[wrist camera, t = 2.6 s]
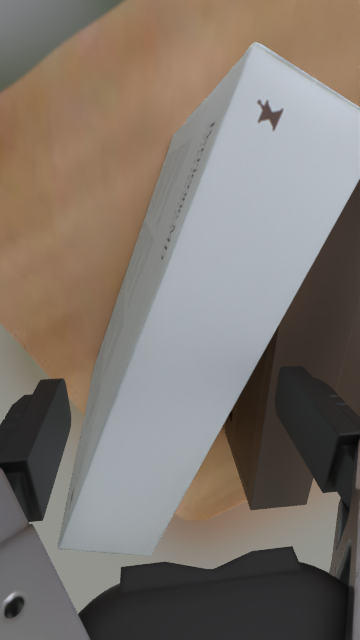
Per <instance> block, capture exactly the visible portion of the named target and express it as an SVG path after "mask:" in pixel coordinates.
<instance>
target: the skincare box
mask: <svg viewBox="0 0 360 640" xmlns="http://www.w3.org/2000/svg"><path fill="white" fill-rule="evenodd" d="M359 179H360V107H358V106H357V105H355V104H353V103H352V102H350V101H349V100H347V99H346V98H344V97H343V96H341V95H340V94H338V93H337V92H335V91H333V90H332V89H330V88H329V87H327V86H326V85H324V84H323V83H321V82H319V81H318V80H316V79H315V78H313V77H312V76H310V75H309V74H307V73H305V72H304V71H302V70H301V69H299V68H298V67H296V66H295V65H293V64H291V63H290V62H288V61H287V60H285V59H284V58H282V57H280V56H279V55H277V54H276V53H274V52H273V51H271V50H270V49H268V48H267V47H265V46H264V45H261V44H259V43H257V42H254V43H253V44H251V45H250V47H249V48H248V50H247V51H246V52H245V54H244V55H243V56H242V58H241V59H240V60H239V61H238V62H237V63H236V64H235V65H234V66H233V68H232V69H231V70H230V71H229V72H228V73H227V75H226V76H225V77H224V78H223V79H222V80H221V82H220V83H219V84H218V85H217V86H216V87H215V89H214V90H213V91H212V92H211V93H210V95H209V96H208V97H207V98H206V100H204V101H203V102H202V103H201V104H200V105H199V106H198V108H197V109H196V110H195V111H194V112H193V113H192V114H191V115H190V116H189V117H188V118H187V120H186V122H185V123H184V124H183V125H182V126H181V127H180V128H179V129H178V130H177V131H176V133H175V134H174V135H173V137H172V140H171V143H170V146H169V149H168V152H167V155H166V158H165V161H164V164H163V166H162V169H161V172H160V175H159V178H158V181H157V184H156V186H155V189H154V192H153V195H152V198H151V201H150V204H149V207H148V210H147V213H146V216H145V219H144V222H143V225H142V228H141V231H140V233H139V236H138V239H137V242H136V245H135V248H134V251H133V254H132V257H131V260H130V263H129V265H128V268H127V271H126V274H125V277H124V280H123V283H122V286H121V289H120V292H119V295H118V298H117V301H116V304H115V307H114V310H113V313H112V316H111V319H110V322H109V325H108V328H107V330H106V333H105V336H104V339H103V342H102V345H101V348H100V351H99V354H98V357H97V360H96V363H95V366H94V369H93V374H92V379H91V385H90V390H89V396H88V401H87V407H86V412H85V417H84V421H83V426H82V431H81V436H80V442H79V446H78V450H77V454H76V459H75V463H74V469H73V473H72V478H71V483H70V488H69V493H68V497H67V502H66V507H65V512H64V517H63V522H62V527H61V533H60V537H59V542H58V549H60V550H75V551H87V552H100V553H111V554H124V555H138V556H150V555H151V554H152V553H153V551H154V549H155V547H156V546H157V544H158V542H159V540H160V538H161V536H162V535H163V533H164V531H165V529H166V528H167V526H168V524H169V522H170V520H171V518H172V516H173V515H174V513H175V511H176V509H177V507H178V506H179V504H180V502H181V500H182V499H183V497H184V495H185V493H186V491H187V489H188V488H189V486H190V484H191V482H192V480H193V479H194V477H195V475H196V473H197V471H198V470H199V468H200V466H201V464H202V462H203V460H204V459H205V457H206V455H207V453H208V451H209V450H210V448H211V446H212V444H213V442H214V440H215V439H216V437H217V435H218V433H219V431H220V430H221V428H222V426H223V424H224V422H225V421H226V419H227V417H228V415H229V413H230V412H231V410H232V408H233V406H234V404H235V403H236V401H237V399H238V397H239V395H240V394H241V392H242V390H243V388H244V386H245V385H246V383H247V381H248V379H249V377H250V376H251V374H252V372H253V370H254V369H255V367H256V365H257V363H258V361H259V360H260V358H261V356H262V354H263V352H264V351H265V349H266V347H267V345H268V343H269V342H270V340H271V338H272V336H273V334H274V333H275V331H276V329H277V327H278V325H279V324H280V322H281V320H282V318H283V316H284V315H285V313H286V311H287V309H288V307H289V306H290V304H291V302H292V300H293V298H294V297H295V295H296V293H297V291H298V289H299V288H300V286H301V284H302V282H303V280H304V279H305V277H306V275H307V273H308V271H309V270H310V268H311V266H312V264H313V262H314V261H315V259H316V257H317V255H318V253H319V251H320V250H321V248H322V246H323V244H324V242H325V241H326V239H327V237H328V235H329V233H330V232H331V230H332V228H333V226H334V224H335V223H336V221H337V219H338V217H339V215H340V214H341V212H342V210H343V208H344V206H345V205H346V203H347V201H348V199H349V197H350V196H351V194H352V192H353V190H354V188H355V187H356V185H357V183H358V181H359Z"/></svg>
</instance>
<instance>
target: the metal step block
mask: <svg viewBox="0 0 360 640" xmlns="http://www.w3.org/2000/svg"><path fill="white" fill-rule="evenodd" d="M287 366H303V367H304V368H305V369H306V370H307V371H308V372H309V373H310V374H311V376H312V377H313V378H318V379H320V380H321V381H323V382H325V383H326V384H328V385H329V386H331V387H332V389H333V390H334V391H335V392H336V393H337V394H338V395H339V397H341V398H342V399H343V400H344V401H345V402H346V405H349V407H350V408H351V409H352V410H353V411H354V412H355V413H356V414H357V415H358V416H359V417H360V179H359V181H358V183H357V185H356V187H355V188H354V190H353V192H352V194H351V196H350V197H349V199H348V201H347V203H346V205H345V206H344V208H343V210H342V212H341V214H340V215H339V217H338V219H337V221H336V223H335V224H334V226H333V228H332V230H331V232H330V233H329V235H328V237H327V239H326V241H325V242H324V244H323V246H322V248H321V250H320V251H319V253H318V255H317V257H316V259H315V261H314V262H313V264H312V266H311V268H310V270H309V271H308V273H307V275H306V277H305V279H304V280H303V282H302V284H301V286H300V288H299V289H298V291H297V293H296V295H295V297H294V298H293V300H292V302H291V304H290V306H289V307H288V309H287V311H286V313H285V315H284V316H283V318H282V320H281V322H280V324H279V325H278V327H277V329H276V331H275V333H274V334H273V336H272V338H271V340H270V342H269V343H268V345H267V347H266V349H265V351H264V352H263V354H262V356H261V358H260V360H259V361H258V363H257V365H256V367H255V369H254V370H253V372H252V374H251V376H250V377H249V379H248V381H247V383H246V385H245V386H244V388H243V390H242V392H241V394H240V395H239V397H238V399H237V401H236V403H235V404H234V406H233V411H231V412H230V413H229V415H228V417H227V419H226V427H225V434H226V437H227V440H228V443H229V446H230V449H231V452H232V455H233V458H234V461H235V464H236V467H237V470H238V473H239V476H240V480H241V483H242V486H243V489H244V492H245V495H246V497H247V501H248V504H249V506H250V509H251V510H257V509H267V508H276V507H287V506H297V505H306V504H307V499H308V496H309V492H310V488H311V485H312V481H313V476H312V474H311V472H310V470H309V469H308V467H307V465H306V464H305V462H304V460H303V459H302V457H301V455H300V453H299V452H298V450H297V448H296V447H295V445H294V443H293V442H292V440H291V438H290V436H289V435H288V433H287V431H286V430H285V428H284V426H283V425H282V423H281V421H280V420H279V418H278V416H277V414H276V410H275V394H276V388H277V382H278V376H279V371H280V368H281V367H287Z"/></svg>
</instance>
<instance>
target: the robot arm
mask: <svg viewBox="0 0 360 640" xmlns="http://www.w3.org/2000/svg"><path fill="white" fill-rule="evenodd" d="M275 410H276V414H277V416H278V418H279V420H280V421H281V423H282V425H283V426H284V428H285V430H286V431H287V433H288V435H289V436H290V438H291V440H292V442H293V443H294V445H295V447H296V448H297V450H298V452H299V453H300V455H301V457H302V459H303V460H304V462H305V464H306V465H307V467H308V469H309V470H310V472H311V474H312V476H313V477H314V479H315V480H316V482H317V484H318V486H319V487H320V489H321V491H322V492H323V493H327V492H338V494H339V495H340V497H341V499H340V502H339V506H338V514H337V523H336V531H335V539H334V547H333V555H332V562H331V567H330V571H329V573H328V572H326V571H324V570H322V569H319V568H317V567H315V566H312V565H308V564H305V563H301V562H299V561H298V559H297V557H296V554H295V552H294V550H293V547H292V546H291V547H283V548H275V549H267V550H258V551H252V552H250V553H247V554H245V555H243V556H241V557H239V558H236V559H234V560H232V561H230V562H228V563H226V564H224V565H221V566H219V567H217V568H215V569H203V568H197V567H191V566H186V565H180V564H175V563H169V562H159V563H151V564H143V565H135V566H126V567H121V578H120V584H117V585H115V586H113V587H111V588H109V589H108V590H106V591H104V592H103V593H101V594H100V595H99V596H97V597H96V598H95V599H93V600H92V601H91V602H90V603H89V604H88V605H87V606H86V607H85V608H84V609H83V610H82V611H81V612H80V613H79V614H77V612H76V610H75V608H74V606H73V604H72V602H71V600H70V598H69V596H68V594H67V592H66V590H65V588H64V586H63V584H62V582H61V580H60V578H59V576H58V574H57V572H56V570H55V568H54V566H53V564H52V562H51V560H50V558H49V556H48V553H47V552H46V550H45V548H44V546H43V543H42V542H41V539H40V538H39V535H38V533H37V532H36V530H35V528H34V526H33V525H32V524H29V522H33V521H42V520H43V518H44V515H45V512H46V508H47V505H48V501H49V498H50V495H51V492H52V488H53V485H54V482H55V478H56V475H57V472H58V468H59V465H60V462H61V458H62V455H63V452H64V448H65V445H66V441H67V438H68V435H69V431H70V427H71V411H70V406H69V400H68V394H67V388H66V383H65V380H64V379H63V378H62V379H46V380H45V379H44V380H40V382H39V383H38V385H37V387H36V389H35V391H34V393H33V394H32V395H24V396H23V397H22V398H20V399H19V400H18V401H17V402H16V403H15V404H13V405H12V407H11V408H10V410H9V412H8V413H7V415H6V416H5V419H4V420H3V421H2V423H1V425H0V640H360V417H359V416H358V415H357V414H356V413H355V412H354V411H353V410H352V409H351V408H350V407H349V405H346V402H345V401H344V400H343V399H342V398H341V397H339V395H338V394H337V393H336V392H335V391H334V390H333V389H332V387H331V386H329V385H328V384H326V383H325V382H323V381H321V380H320V379H318V378H313V377H312V376H311V374H310V373H309V372H308V371H307V370H306V369H305V368H304V367H303V366H287V367H281V368H280V371H279V376H278V382H277V388H276V394H275Z"/></svg>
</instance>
